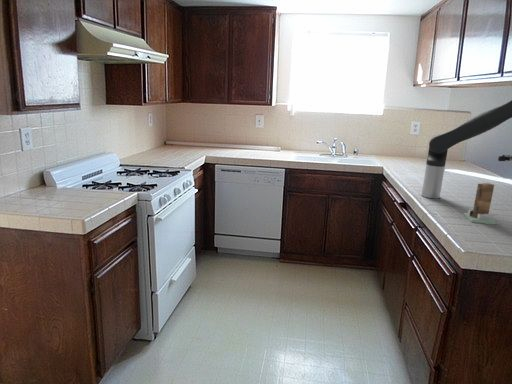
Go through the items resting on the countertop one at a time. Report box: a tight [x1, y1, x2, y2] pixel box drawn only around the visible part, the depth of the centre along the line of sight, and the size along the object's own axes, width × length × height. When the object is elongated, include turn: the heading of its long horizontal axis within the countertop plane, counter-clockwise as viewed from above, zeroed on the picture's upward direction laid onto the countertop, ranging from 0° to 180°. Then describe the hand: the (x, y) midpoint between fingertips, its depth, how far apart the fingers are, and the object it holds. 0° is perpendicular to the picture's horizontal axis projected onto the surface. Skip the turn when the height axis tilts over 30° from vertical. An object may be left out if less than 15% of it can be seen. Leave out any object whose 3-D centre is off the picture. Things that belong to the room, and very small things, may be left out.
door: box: [472, 182, 495, 218], centre depth 177 cm, size 3×7×15 cm, turn 109°
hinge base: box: [464, 209, 498, 225], centre depth 179 cm, size 11×10×4 cm
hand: (507, 160), depth 178 cm, fingers open, 8 cm apart
